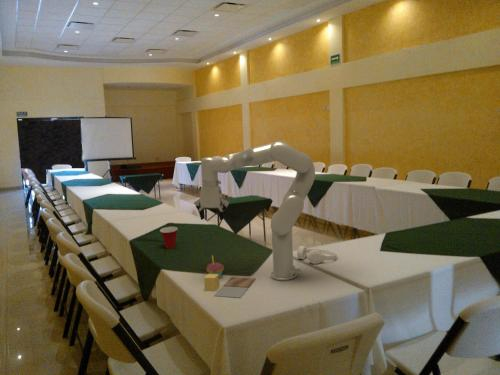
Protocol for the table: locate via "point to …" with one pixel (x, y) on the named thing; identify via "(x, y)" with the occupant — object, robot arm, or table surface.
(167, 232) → the plastic cup
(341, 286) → the table surface
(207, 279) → the mustard block
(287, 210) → the robot arm
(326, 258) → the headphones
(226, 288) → the grey mat
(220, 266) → the cupcake
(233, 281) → the walnut mat
